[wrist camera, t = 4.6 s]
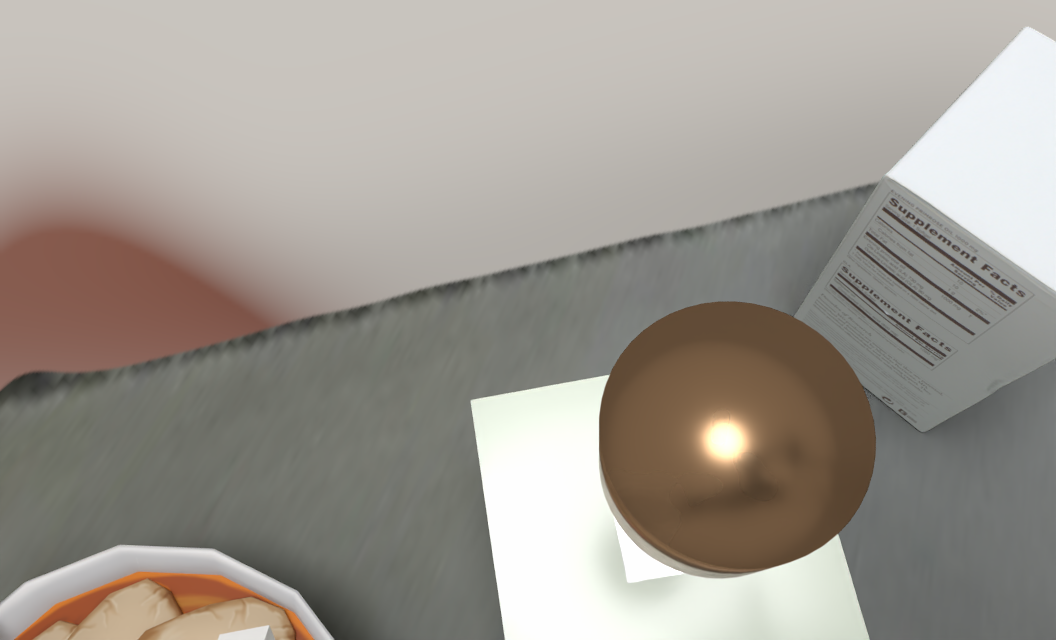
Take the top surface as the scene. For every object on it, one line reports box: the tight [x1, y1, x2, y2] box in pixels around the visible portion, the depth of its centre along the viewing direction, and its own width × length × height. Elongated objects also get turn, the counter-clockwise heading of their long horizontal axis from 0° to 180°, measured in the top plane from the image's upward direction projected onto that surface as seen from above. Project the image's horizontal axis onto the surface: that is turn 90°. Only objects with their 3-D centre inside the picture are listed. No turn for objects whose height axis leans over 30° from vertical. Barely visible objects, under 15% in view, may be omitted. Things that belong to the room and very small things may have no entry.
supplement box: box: [794, 27, 1056, 432], centre depth 37 cm, size 10×9×17 cm
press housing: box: [471, 375, 869, 640], centre depth 35 cm, size 12×12×14 cm
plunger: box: [599, 302, 876, 583], centre depth 22 cm, size 9×9×19 cm
